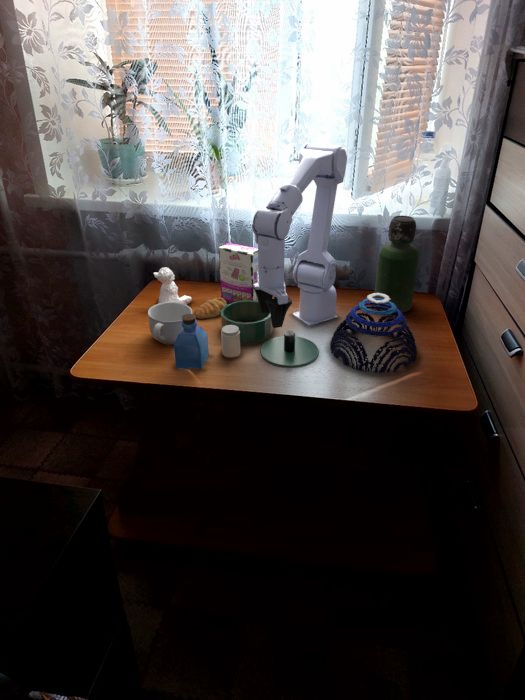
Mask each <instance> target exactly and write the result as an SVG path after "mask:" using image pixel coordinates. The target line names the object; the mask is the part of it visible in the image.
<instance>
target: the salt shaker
mask: <svg viewBox="0 0 525 700" xmlns="http://www.w3.org/2000/svg"><path fill="white" fill-rule="evenodd" d="M220 338H221V340H220V341H221V342H220V343H221V354H222V356H224V357H226V358H235V357H238V356H240V355H241V343H240V331H239V328H238V327H237V326H235V325H226V326H224V327H223V328H222V327H221V331H220Z"/></svg>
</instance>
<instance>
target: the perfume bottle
mask: <svg viewBox="0 0 525 700" xmlns="http://www.w3.org/2000/svg"><path fill="white" fill-rule="evenodd" d="M182 320H183V321H182V322H181V323H182V327H183V328H182V329H181V331H180V332H179V334H178V336H177V339H176V341H175V343H174V344H173V354H174V362H175V363H174V364H175V369H178V370H179V369H180V370H189V371H190V370H191V369H201V370H202V369H203V368H204V365H205V363H206V361H207V359H208V357H209V355H210V352H209V337H208V335H209V334H208V333H207V331H206V330H204V328H203V327H202V326H201V325H198V321H197V317H196V315H194V313H192V314H185V315H183V316H182Z"/></svg>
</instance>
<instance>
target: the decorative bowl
mask: <svg viewBox="0 0 525 700" xmlns="http://www.w3.org/2000/svg"><path fill="white" fill-rule="evenodd" d="M375 296H380V297H383V298H385V299H383V298H374V297H375ZM389 300H391V299H390V298H389V296H387V295H385V294H381V293H375V292H373V293H370V294H368V295H366V298H364V299H363V300H362V301H360V302H358V304H357V305H355V306H354V307H352V308H351V310H350V312H348V313H347V315H346V316H345V318H344V319H343V321H342V322H340V323H339V325H338V326H337V327H336V330H334V332H333V335H332V337H331V340H330V343H329V345H330V347H329V349H330V353H331V354H332V356H333V358H335V359H338V358H340V359H341V361H342V363H343V365H345V366H346V367H349V368H351V369H353V370H356V371H359V372H365V373H370V374H371V373H374V374H378V373H379V374H385V373H390V372H391V369H392V367H393V365H394V364H395V365H394V367H393V370H392V373H395V372H397V371H398V370H399V369H400V367H401V366H403V367H405V368H408V367H410V365H411V364H412V363H415V362H416V358H417V353H418V350H417V349H418V347H417V344H416V339H415V336H414V334H413V332H412V331H411V329H410V327H409V325H408V323H407V322H408V320H407V318H406V317H405V316H404V313H401V312H400V310H398V309H397V308H396V305H395V304H394V303H392V302H390V301H389ZM386 302H387V303H388V304H385V303H386ZM389 304H390V305H389ZM374 305H377V306H374ZM378 305H381V306H378ZM382 306H387V307H390V308H385V307H382ZM379 309H381V310H386V311H381V310H379ZM358 311H362V312H358ZM393 314H394V315H393ZM372 315H374V316H381V317H380V318H378V319H377V321H375V318H374V317H373V316H372ZM397 325H398V326H397ZM395 326H396V327H395ZM379 328H380V329H379ZM391 328H392V329H391ZM349 331H350V332H351V333H350V332H349ZM353 332H358V333H359V334H360V333H361V334H362V335H368V336H373V337H383V336H385V337H387V336H388V337H390V336H391V337H392V338H393V339H391V340H387V341H385V342H384V343H383V345H381V346H380V347H379V348H378V349H377V350H375V353H374V354H373V355H372V358H371V359H370V360H369V357H368V356H369V355H368V353H367V350H366V348H365V346H364V345H363V343H362V341H360V339H359V337H357V336H354V335H353V334H352V333H353ZM395 333H396V334H395ZM399 341H400V342H399ZM397 342H399V343H397ZM391 343H392V345H391ZM393 343H396V344H393ZM347 348H348V349H347ZM397 348H400V349H397ZM393 349H395V350H393ZM384 351H385V352H384ZM350 352H351V353H350ZM383 352H384V353H383ZM351 354H352V355H351ZM381 354H382V355H381ZM388 355H389V356H388ZM387 356H388V357H387ZM386 358H387V359H386ZM403 358H405V359H407V360H402V361H399V362H397V360H400V359H403ZM384 359H386V360H385V362H384ZM377 360H378V361H377ZM354 362H355V364H354ZM396 362H397V363H396ZM381 365H382V366H381Z"/></svg>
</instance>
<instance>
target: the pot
mask: <svg viewBox="0 0 525 700" xmlns="http://www.w3.org/2000/svg"><path fill="white" fill-rule="evenodd" d="M243 321H249V322H243ZM220 323H221V324H220V325H221V329H222V328H223V327H224V326H226V325H235V326H237V327H238V328H239V331H240V344H255V343H260V342H262V341H265V340H267V339H268V338H270V337H271V336H272V334H273V332H274V328H273V326H272V322H271V315H270V312H268V313H261V310H260V306H259V302H258V301H252V300H244V301H236V302H233V303H227V305H226V306H224V307H223V309H222V310H221V315H220Z"/></svg>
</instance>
